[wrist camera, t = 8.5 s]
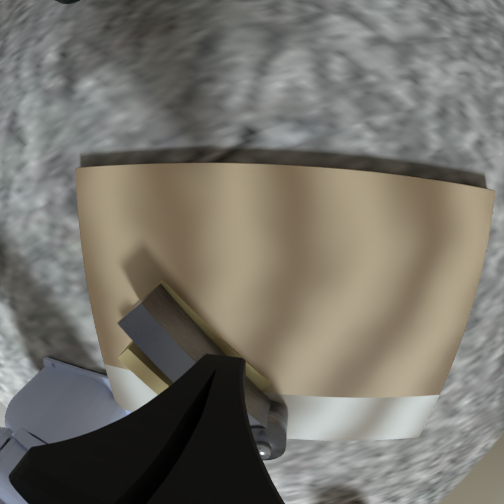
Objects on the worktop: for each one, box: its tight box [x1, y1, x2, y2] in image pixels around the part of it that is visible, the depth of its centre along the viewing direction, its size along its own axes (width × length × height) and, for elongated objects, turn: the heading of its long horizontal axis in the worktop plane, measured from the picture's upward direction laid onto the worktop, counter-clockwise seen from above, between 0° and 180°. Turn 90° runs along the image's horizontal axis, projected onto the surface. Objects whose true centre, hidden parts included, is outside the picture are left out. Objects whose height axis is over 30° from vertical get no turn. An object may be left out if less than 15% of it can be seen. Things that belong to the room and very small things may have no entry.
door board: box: [76, 162, 495, 441], centre depth 19 cm, size 26×20×4 cm
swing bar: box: [117, 283, 288, 460], centre depth 19 cm, size 14×3×4 cm, turn 39°
